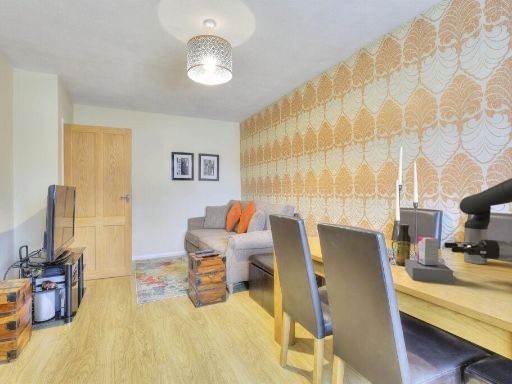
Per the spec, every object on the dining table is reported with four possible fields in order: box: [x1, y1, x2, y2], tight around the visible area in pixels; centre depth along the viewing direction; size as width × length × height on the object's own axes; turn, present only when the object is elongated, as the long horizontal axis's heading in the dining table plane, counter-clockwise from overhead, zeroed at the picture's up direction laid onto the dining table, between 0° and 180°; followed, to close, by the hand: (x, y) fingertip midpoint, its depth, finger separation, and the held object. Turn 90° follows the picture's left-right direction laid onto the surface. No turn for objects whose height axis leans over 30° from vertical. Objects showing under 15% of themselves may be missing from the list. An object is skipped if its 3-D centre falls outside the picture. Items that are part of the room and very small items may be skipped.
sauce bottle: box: [394, 223, 412, 267], centre depth 133 cm, size 7×6×20 cm
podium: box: [404, 259, 454, 285], centre depth 115 cm, size 14×14×5 cm
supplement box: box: [416, 236, 440, 266], centre depth 115 cm, size 6×6×12 cm
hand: (448, 247), depth 113 cm, fingers open, 8 cm apart
